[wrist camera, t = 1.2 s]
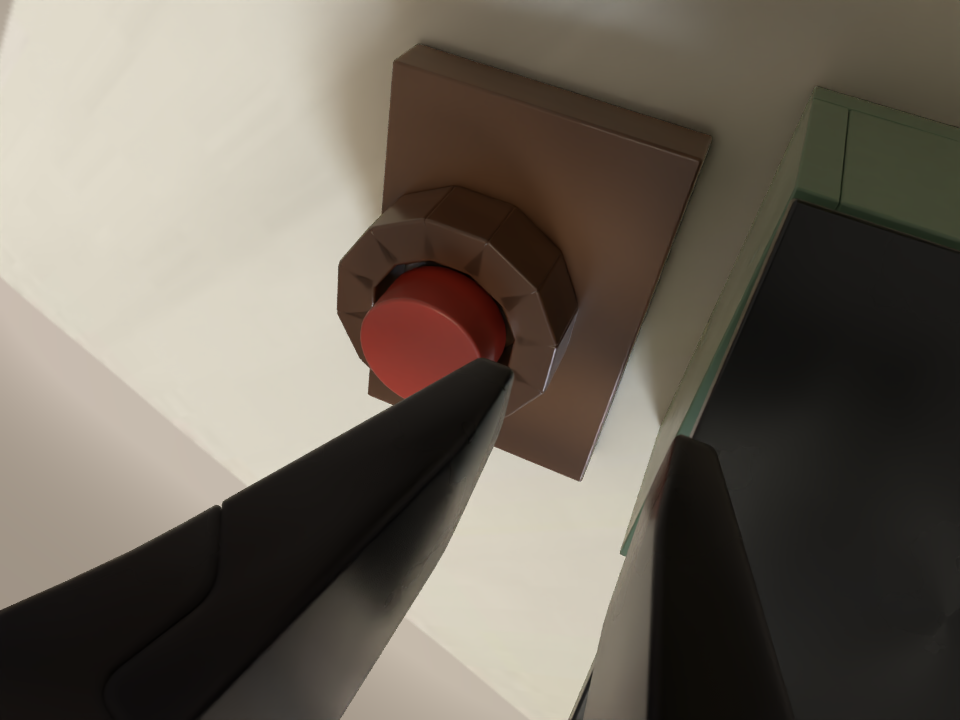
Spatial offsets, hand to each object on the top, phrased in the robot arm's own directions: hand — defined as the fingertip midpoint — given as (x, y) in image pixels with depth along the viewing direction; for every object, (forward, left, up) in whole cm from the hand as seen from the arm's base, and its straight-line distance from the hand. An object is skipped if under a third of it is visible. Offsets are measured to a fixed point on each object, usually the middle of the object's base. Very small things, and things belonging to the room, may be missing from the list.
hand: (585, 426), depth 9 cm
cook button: (-8, +5, -10) cm, 14 cm away
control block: (-8, +4, -13) cm, 16 cm away
